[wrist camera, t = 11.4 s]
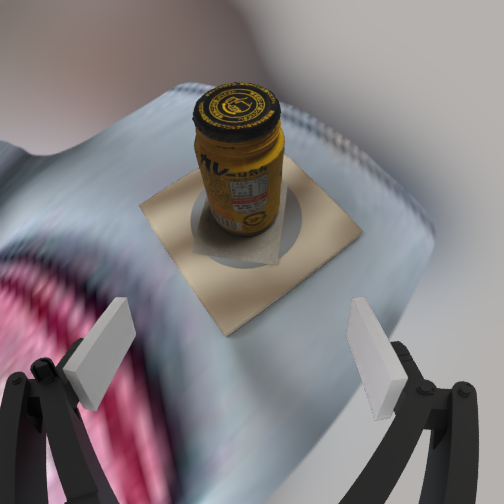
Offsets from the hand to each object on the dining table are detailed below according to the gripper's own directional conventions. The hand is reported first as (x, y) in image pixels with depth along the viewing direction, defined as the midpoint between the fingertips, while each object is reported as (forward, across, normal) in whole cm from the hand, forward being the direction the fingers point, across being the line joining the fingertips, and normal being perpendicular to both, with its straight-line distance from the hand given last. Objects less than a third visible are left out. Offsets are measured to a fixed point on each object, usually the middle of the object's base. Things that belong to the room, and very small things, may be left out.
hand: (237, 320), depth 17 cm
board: (+13, 0, +2) cm, 13 cm away
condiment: (+12, 0, +3) cm, 12 cm away
